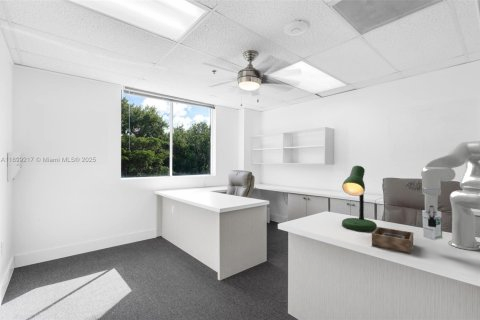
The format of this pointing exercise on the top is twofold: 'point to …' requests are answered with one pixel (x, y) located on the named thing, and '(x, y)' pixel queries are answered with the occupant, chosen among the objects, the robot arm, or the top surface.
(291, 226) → the top surface
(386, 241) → the walled box
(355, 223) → the desk lamp
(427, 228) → the syrup box
